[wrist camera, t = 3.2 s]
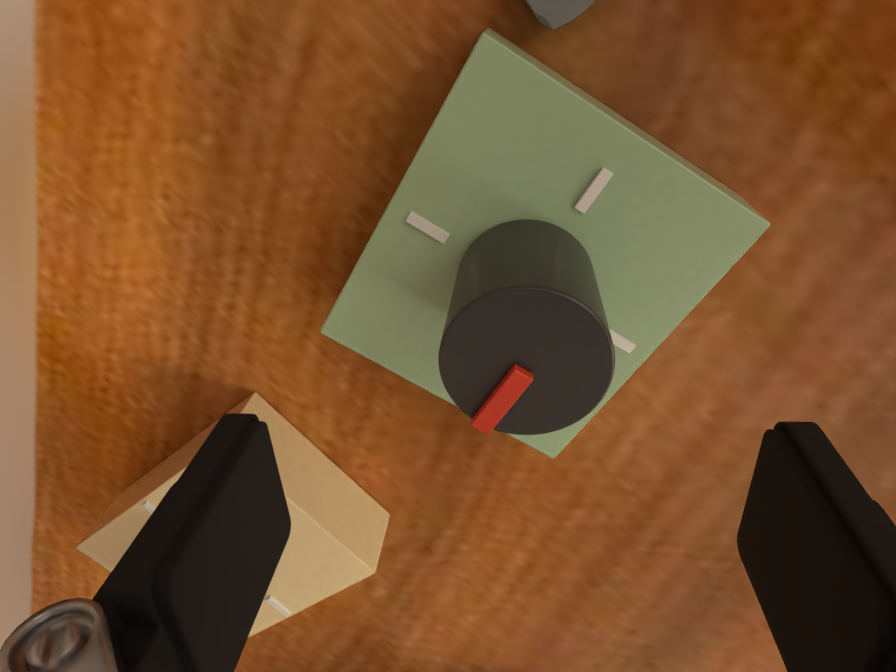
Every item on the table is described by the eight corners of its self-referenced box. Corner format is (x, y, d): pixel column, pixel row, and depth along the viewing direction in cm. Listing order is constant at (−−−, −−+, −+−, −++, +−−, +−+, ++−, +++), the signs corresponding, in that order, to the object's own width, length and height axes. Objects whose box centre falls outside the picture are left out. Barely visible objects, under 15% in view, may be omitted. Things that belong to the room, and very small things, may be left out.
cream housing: (255, 390, 26) (218, 444, 23) (391, 514, 29) (374, 576, 26) (119, 493, 31) (72, 550, 28) (249, 592, 34) (220, 654, 30)
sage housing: (488, 26, 18) (482, 31, 16) (740, 195, 20) (774, 226, 17) (340, 296, 24) (317, 335, 21) (550, 412, 25) (554, 463, 23)
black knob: (503, 191, 18) (497, 257, 13) (623, 265, 19) (656, 352, 14) (432, 302, 20) (405, 392, 15) (542, 364, 21) (547, 469, 16)
